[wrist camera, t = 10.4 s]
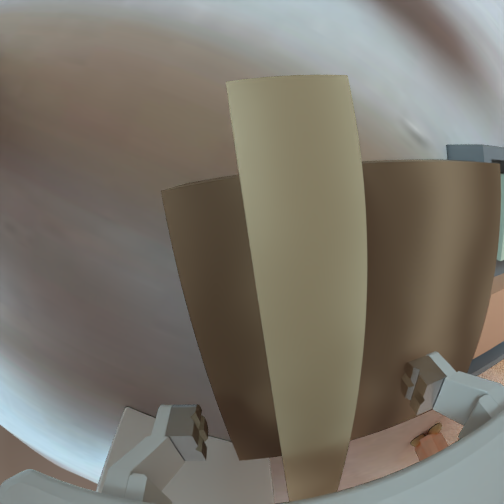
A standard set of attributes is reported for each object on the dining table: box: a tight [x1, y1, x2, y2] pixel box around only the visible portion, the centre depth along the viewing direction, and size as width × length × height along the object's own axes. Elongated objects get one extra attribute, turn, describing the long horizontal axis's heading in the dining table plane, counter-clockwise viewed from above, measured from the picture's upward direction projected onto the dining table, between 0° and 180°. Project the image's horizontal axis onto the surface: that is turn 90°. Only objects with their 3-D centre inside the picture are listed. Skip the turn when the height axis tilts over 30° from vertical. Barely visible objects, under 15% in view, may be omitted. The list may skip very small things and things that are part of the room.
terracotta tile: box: [473, 273, 504, 359], centre depth 16 cm, size 6×6×2 cm
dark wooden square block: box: [161, 160, 501, 461], centre depth 14 cm, size 16×16×5 cm
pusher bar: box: [226, 75, 367, 502], centre depth 9 cm, size 2×20×4 cm, turn 8°
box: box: [446, 145, 504, 376], centre depth 15 cm, size 11×18×4 cm, turn 8°
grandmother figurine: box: [411, 423, 448, 461], centre depth 17 cm, size 8×4×13 cm, turn 130°
